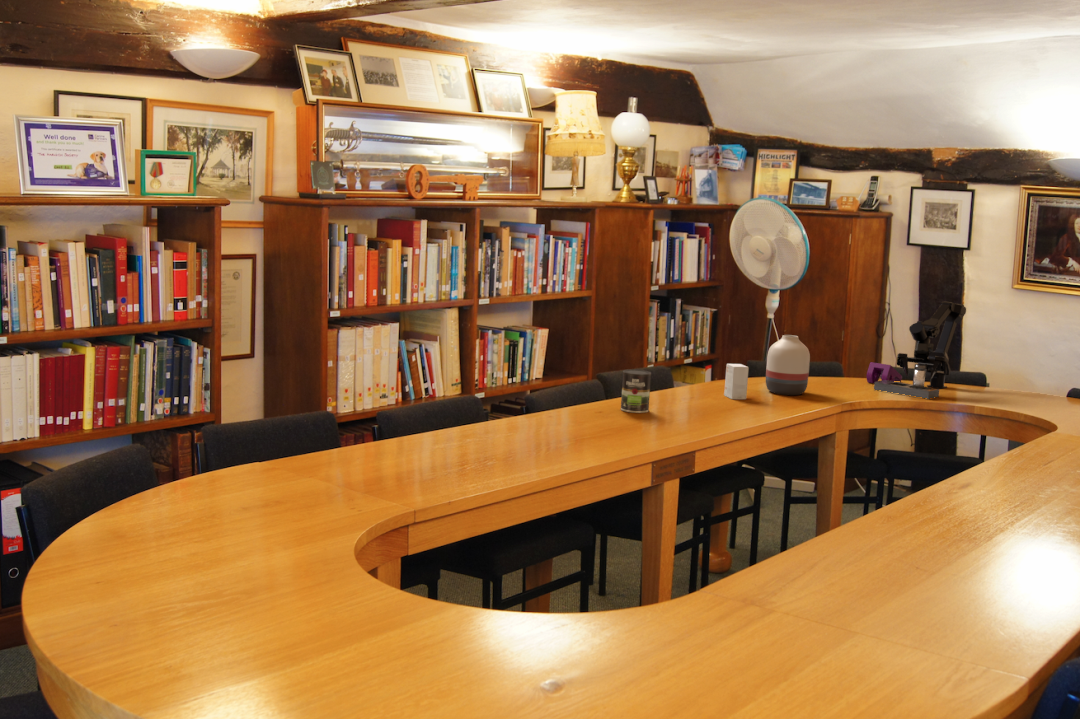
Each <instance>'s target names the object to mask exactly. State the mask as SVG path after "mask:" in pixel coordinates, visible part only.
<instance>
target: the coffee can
mask: <svg viewBox="0 0 1080 719" xmlns="http://www.w3.org/2000/svg"><path fill="white" fill-rule="evenodd" d="M651 379H652V372H651V371H647V370H643V369H624V370H622V381H621V382H622V383H621V386H622V387H621V398H620V399H621V400H620V411H622V412H625V413H632V414H645V413H648V412H650V410H649V408H650V392H651V383H652V382H651V381H652V380H651Z"/></svg>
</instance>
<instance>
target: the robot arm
mask: <svg viewBox="0 0 1080 719" xmlns="http://www.w3.org/2000/svg"><path fill="white" fill-rule="evenodd" d="M966 312H967V307H966V306H965V305H964V304H962V303H954V302H952V301H941V303H940V305H939V307H938V308H937V310H936V311H935V312H934V314H933V315H932V316H931V317H930V318H929V319H926V320H924V321H920V320H917V322H914V323H913V324H911V325H910V326H909V328H908V331H909V332H910V335H911V338H912V339H913V340H914V341H915V346H914V351H913V357H912V356H908V353H902V352H899V353H897V356H896V366H899V368H901V369H903V371H904V374H905V376H906V378H907V377H909V363H915V364H922V365H926V373H927V374H929V373H930V378H929V380H930V383H929V384H927V385H926V387H930V388H936V389H939V390H941V389H946V388H948V386H947V385H945V379H946V376H950V375H951V371H952V370H951V365H950V363H949V362H950V360H949V359H950V358H949V356H948V352H949V349H950V345H951V342H952V340H953V337H954V334H955V330H956V328H957V325H958V324H960V322H961V321H962V320H963V319H964V316H965V315H966ZM942 324H943V327H942V330H940V326H941V325H942ZM940 331H941V333H940ZM939 334H940V336H939ZM938 336H939V339H938V342H937V345H936V349H935V350H934V343H931V338H932V339H933V338H935V339H936V338H937V337H938Z"/></svg>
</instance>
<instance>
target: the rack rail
mask: <svg viewBox="0 0 1080 719" xmlns="http://www.w3.org/2000/svg"><path fill="white" fill-rule="evenodd" d="M912 387H913V383H912V384H911V383H905V382H894V381H888V380H883V381H882V380H878V381H877V382H874V385H873V390H874V389H875V390H874V391H876V390H881V391H880V392H882V391H887V392H886V393H888V392H893V393H899V394H905V395H911V396H916V397H922V398H927V399H929V400H931V399H930V398H933V399H935V398H934V397H938V398H940V389H939V388H934V387H928V386H924V389H916V388H912ZM893 393H892V394H893ZM899 394H898V395H899ZM905 395H904V396H905ZM916 397H915V398H916ZM927 399H926V400H927Z"/></svg>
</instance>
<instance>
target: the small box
mask: <svg viewBox="0 0 1080 719" xmlns="http://www.w3.org/2000/svg"><path fill="white" fill-rule="evenodd" d="M725 366H726V368H725V378H724V379H725V380H724V381H725V382H724V392H723V396H725V397H727V398H729V399H730V400H747V396H748V395H747V393H748V392H747V391H748V380H749V379H748V378H749V366H746V365H744V364H742V363H726V365H725Z"/></svg>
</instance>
